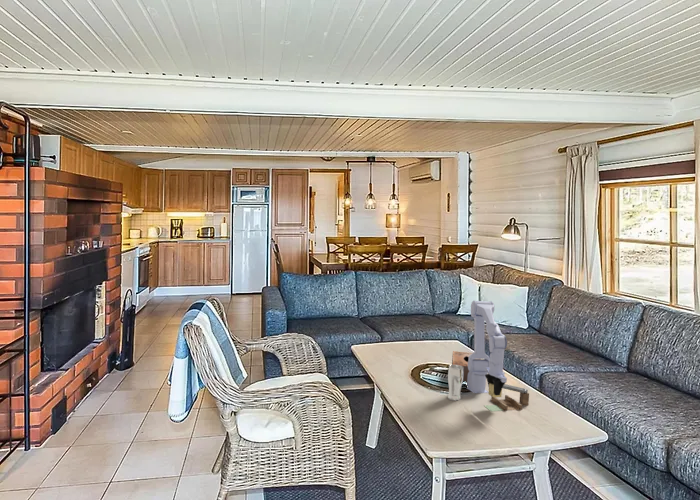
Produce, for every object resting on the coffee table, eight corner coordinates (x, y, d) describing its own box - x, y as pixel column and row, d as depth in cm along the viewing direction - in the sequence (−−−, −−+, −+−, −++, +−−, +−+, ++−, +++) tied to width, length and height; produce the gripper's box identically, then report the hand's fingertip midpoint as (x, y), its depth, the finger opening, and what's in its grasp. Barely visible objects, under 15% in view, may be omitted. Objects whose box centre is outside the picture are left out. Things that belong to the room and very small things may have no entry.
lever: (498, 385, 227) (498, 382, 227) (528, 392, 219) (528, 389, 219) (496, 386, 224) (496, 384, 224) (526, 393, 217) (526, 391, 216)
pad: (483, 406, 214) (483, 405, 214) (496, 406, 216) (496, 404, 216) (490, 412, 208) (490, 411, 208) (503, 411, 210) (503, 410, 210)
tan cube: (488, 393, 213) (489, 382, 213) (496, 393, 214) (497, 382, 214) (493, 397, 209) (493, 386, 209) (501, 397, 210) (502, 385, 210)
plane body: (490, 401, 222) (490, 388, 221) (519, 399, 225) (519, 387, 225) (504, 411, 210) (505, 398, 210) (534, 409, 213) (535, 397, 213)
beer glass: (451, 401, 219) (452, 369, 218) (444, 396, 225) (445, 364, 224) (464, 400, 220) (466, 368, 219) (457, 395, 227) (459, 364, 226)
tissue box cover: (481, 387, 240) (482, 367, 240) (451, 384, 243) (452, 364, 243) (478, 371, 266) (479, 353, 265) (451, 368, 268) (452, 351, 268)
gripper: (513, 367, 204) (511, 398, 205) (496, 357, 219) (494, 386, 219) (498, 368, 203) (496, 399, 204) (481, 357, 217) (480, 387, 218)
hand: (494, 393), depth 212 cm, fingers closed on tan cube, 4 cm apart
